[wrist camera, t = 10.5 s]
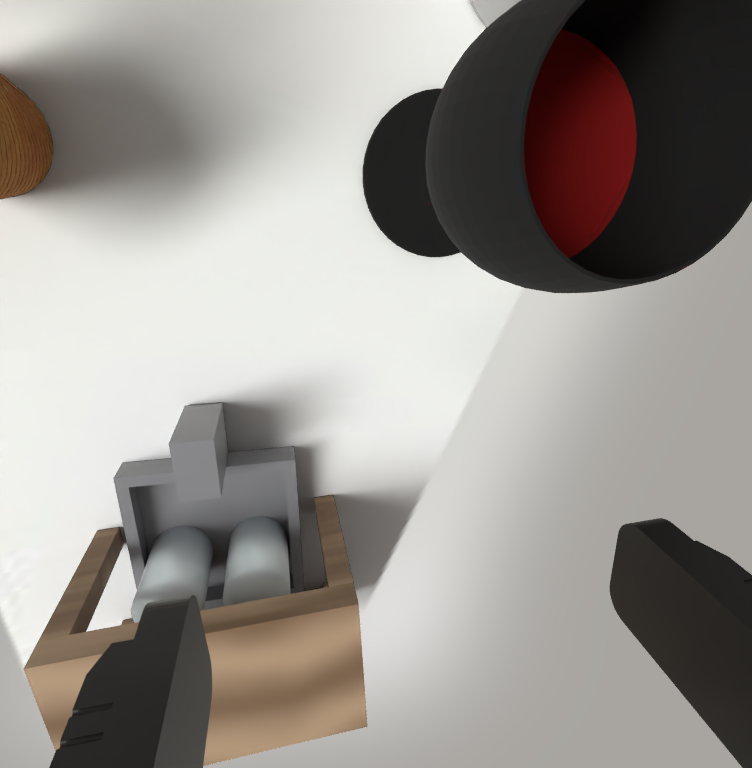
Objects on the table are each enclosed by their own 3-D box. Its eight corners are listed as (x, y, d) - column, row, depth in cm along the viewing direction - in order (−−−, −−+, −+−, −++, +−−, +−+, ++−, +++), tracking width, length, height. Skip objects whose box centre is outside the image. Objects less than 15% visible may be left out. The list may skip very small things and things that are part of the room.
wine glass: (538, 153, 34) (867, 84, 15) (455, 285, 36) (658, 365, 17) (417, 50, 30) (654, -202, 12) (331, 203, 32) (419, 192, 14)
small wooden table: (97, 530, 36) (23, 669, 25) (333, 494, 39) (358, 604, 28) (127, 635, 39) (73, 796, 29) (341, 594, 43) (367, 726, 32)
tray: (113, 408, 34) (76, 455, 27) (290, 395, 36) (295, 435, 30) (150, 595, 39) (127, 671, 33) (302, 573, 41) (308, 640, 35)
